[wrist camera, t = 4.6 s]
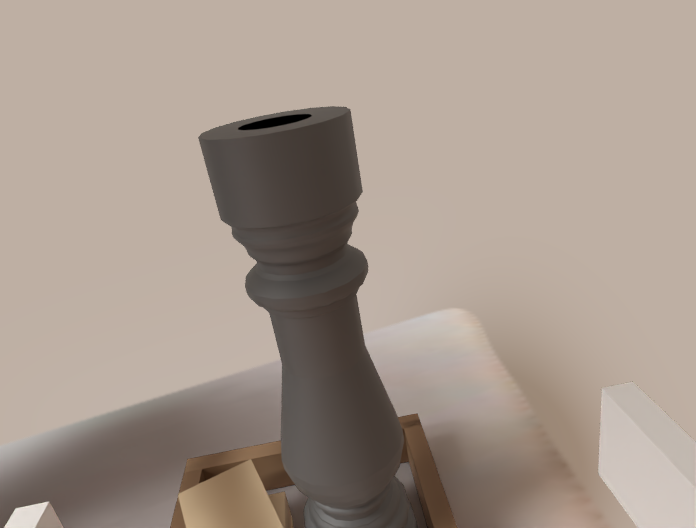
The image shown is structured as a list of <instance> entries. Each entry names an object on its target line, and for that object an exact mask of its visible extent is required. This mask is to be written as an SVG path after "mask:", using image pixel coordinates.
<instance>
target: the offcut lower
mask: <svg viewBox="0 0 696 528" xmlns="http://www.w3.org/2000/svg"><path fill="white" fill-rule="evenodd" d="M268 496H269V498H270V501H271V503H272V505H273V507H274V509H275V511H276V513H277V515H278V518H279V520H280V522H281V524H282V526H283V528H293V519H292V516H291V512H290V509H289V505H288V501H287V498H286V494H285V492H280V493H276V494H271V495H268Z"/></svg>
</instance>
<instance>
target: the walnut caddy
mask: <svg viewBox="0 0 696 528" xmlns="http://www.w3.org/2000/svg"><path fill="white" fill-rule="evenodd" d="M398 419H399V422H400V424H401V427H402V430H403V435H404V444H403V449H402V455H401V460H400V463H404V462H409V464H410V467H411V471H412V474H413V478H414V481H415V485H416V488H417V492H418V495H419V499H420V502H421V506H422V509H423V513H424V516H425V520H426V523H427V527H428V528H457V526H456V523H455V520H454V517H453V514H452V511H451V508H450V506H449V503H448V500H447V497H446V494H445V491H444V488H443V485H442V483H441V480H440V477H439V474H438V471H437V468H436V465H435V463H434V460H433V457H432V454H431V451H430V448H429V445H428V443H427V440H426V437H425V434H424V431H423V428H422V425H421V422H420V420H419V417H418V414H412V415H407V416H402V417H398ZM250 459H251V460H252V462H253V464H254V466H255V469H256V471H257V473H258V475H259V477H260V479H261V481H262V483H263V486H264V488H265V490H270V489H275V488H280V487H285V486H290V485H295V484H294V482H293V481H292V479H291V478H290V477H289V475H288V474H287V472H286V471H285V469H284V466H283V463H282V456H281V441H276V442H271V443H266V444H261V445H256V446H251V447H246V448H241V449H236V450H231V451H226V452H221V453H216V454H211V455H206V456H200V457H195V458H190V459H187V463H186V467H185V471H184V475H183V479H182V483H181V486H180V490H179V493H181V492H183V491H185V490H187V489H189V488H192V487H194V486H196V485H198V484H200V483H202V482H204V481H206V480H208V479H210V478H212V477H214V476H217V475H219V474H221V473H223V472H225V471H227V470H229V469H231V468H233V467H235V466H237V465H239V464H241V463H244V462H246V461H248V460H250ZM170 528H186V525H185V521H184V517H183V513H182V509H181V505H180V501H179V497H178V498H177V502H176V506H175V510H174V514H173V518H172V522H171V526H170Z"/></svg>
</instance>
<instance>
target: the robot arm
mask: <svg viewBox="0 0 696 528" xmlns="http://www.w3.org/2000/svg"><path fill="white" fill-rule="evenodd" d="M598 474H599V476H600V477H601V479H602V480H603V481H604V483H605V484H606V485H607V487H608V488H609V489H610V491H611V492H612V494H613V495H614V496H615V498H616V499H617V500H618V502H619V503H620V504H621V506H622V507H623V508H624V510H625V511H626V513H627V514H628V515H629V517H630V518H631V519H632V521H633V522H634V523H635V525H636V526H637V528H696V441H695V440H694V439H693V438H692V437H691V436H690V435H689V434H687V433H686V432H685V431H684V430H683V429H682V428H681V427H680V426H679V425H678V424H677V423H676V422H675V421H674V420H673V419H672V418H671V417H670V416H669V415H668V414H667V413H665V412H664V411H663V410H662V409H661V408H660V407H659V406H658V405H657V404H656V403H655V402H654V401H653V400H652V399H651V398H650V397H649V396H648V395H647V394H646V393H644V392H643V391H642V390H641V389H640V388H639V387H638V386H637V385H636V384H635V383H634V382H628V383H623V384H618V385H613V386H608V387H603V388H602V395H601V417H600V441H599V465H598ZM4 528H64V527H63V526H62V524H61V522H60V520H59V518H58V516H57V515H56V513H55V511H54V509H53V507H52V506H51V504H50V502H44V503H39V504H34V505H29V506H25V507H20V508H16V509H15V510H14V512H13V514H12V515H11V517H10V519H9V520H8V522H7V523H6V525H5V527H4Z"/></svg>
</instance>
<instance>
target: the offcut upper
mask: <svg viewBox="0 0 696 528" xmlns="http://www.w3.org/2000/svg"><path fill="white" fill-rule="evenodd" d="M178 497H179V501H180V505H181V509H182V513H183V517H184V521H185V525H186V528H283V526H282V524H281V522H280V520H279V518H278V515H277V513H276V511H275V509H274V507H273V505H272V503H271V501H270V498H269V496H268V494H267V492H266V490H265V488H264V486H263V483H262V481H261V479H260V477H259V475H258V473H257V471H256V469H255V466H254V464H253V462H252V460H251V459H250V460H248V461H246V462H244V463H241V464H239V465H237V466H235V467H233V468H231V469H229V470H227V471H225V472H223V473H221V474H219V475H217V476H214V477H212V478H210V479H208V480H206V481H204V482H202V483H200V484H198V485H196V486H194V487H192V488H189V489H187V490H185V491H183V492H181V493H179V494H178Z"/></svg>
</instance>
